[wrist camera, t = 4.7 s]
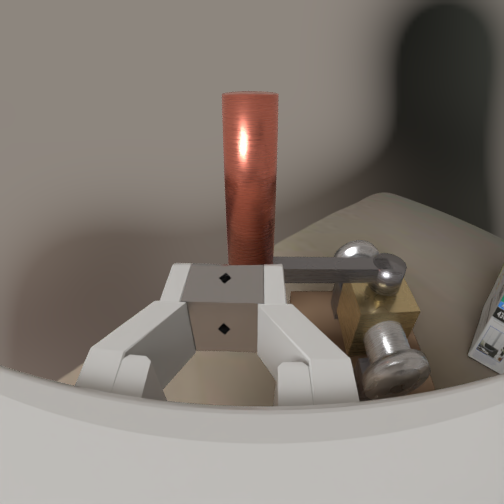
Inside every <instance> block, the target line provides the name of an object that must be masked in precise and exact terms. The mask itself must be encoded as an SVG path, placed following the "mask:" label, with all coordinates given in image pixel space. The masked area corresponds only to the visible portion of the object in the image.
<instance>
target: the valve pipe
mask: <svg viewBox="0 0 504 504" xmlns="http://www.w3.org/2000/svg"><path fill="white" fill-rule="evenodd" d="M378 254H379V252H378V250H377V249H376V247H375V246H374V245H373V244H372V243H370V242H367V241H364V240H356V241H351V242H349V243H347V244H345V245H343V246H342V247H341V248H339V249H338V251H337V252H336V253H335V255H334V257H345V258H374V257H375V256H376V255H378ZM331 307H332V311H333V315H334V319H339V323H340V328H341V332H342V336H343V341H344V345H345V350H346V354H347V356H348V357H349V356H365V355H367V357H368V358H358V361H357V363H356V366H355V368H354V371H353V373H354V377H355V382H356V387H357V391H358V396H359V401H369V400H377V399H385V398H392V397H399V396H404V395H406V394H408V393H410V392H412V391H414V390H415V389H417V388H418V387H420V386H421V385H422V384H423V383H424V382H425V381H426V380H427V378H428V377H429V375H430V371H431V370H430V366H429V363H428V361H427V358H426V356H425V354H424V353H423V352H422V351H419V350H416V349H411V348H410V345H409V343H408V340H407V339H408V337H409V335H410V333H411V331H412V328H413V326H414V324H415V322H416V320H417V318H418V315H419V313H420V309H419V307H418V305H417V303H416V301H415V299H414V297H413V295H412V293H411V291H410V289H409V287H408V285H407V283H406V281H405V279H404V278H403V281H402V284H401V286H400V289H399V292H398V293H397V294H396V295H393V296H382V295H379V294H377V293H375V292H373V291H372V290H371V289H370V288H369V286H368V283H335V284H334V289H333V294H332V298H331Z"/></svg>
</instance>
